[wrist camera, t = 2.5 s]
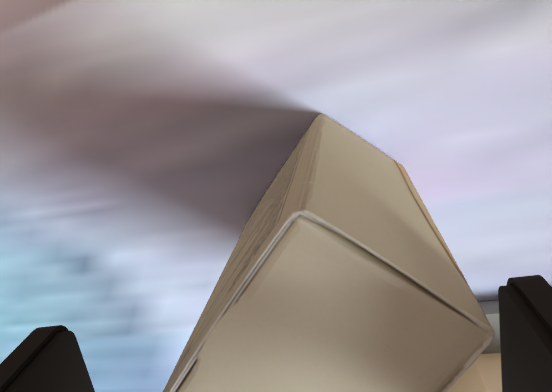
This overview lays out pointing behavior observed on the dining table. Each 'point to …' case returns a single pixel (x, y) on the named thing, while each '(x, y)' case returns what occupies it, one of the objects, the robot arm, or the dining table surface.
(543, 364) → the robot arm
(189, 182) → the dining table surface
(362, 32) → the dining table surface
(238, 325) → the skincare box
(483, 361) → the collar board
